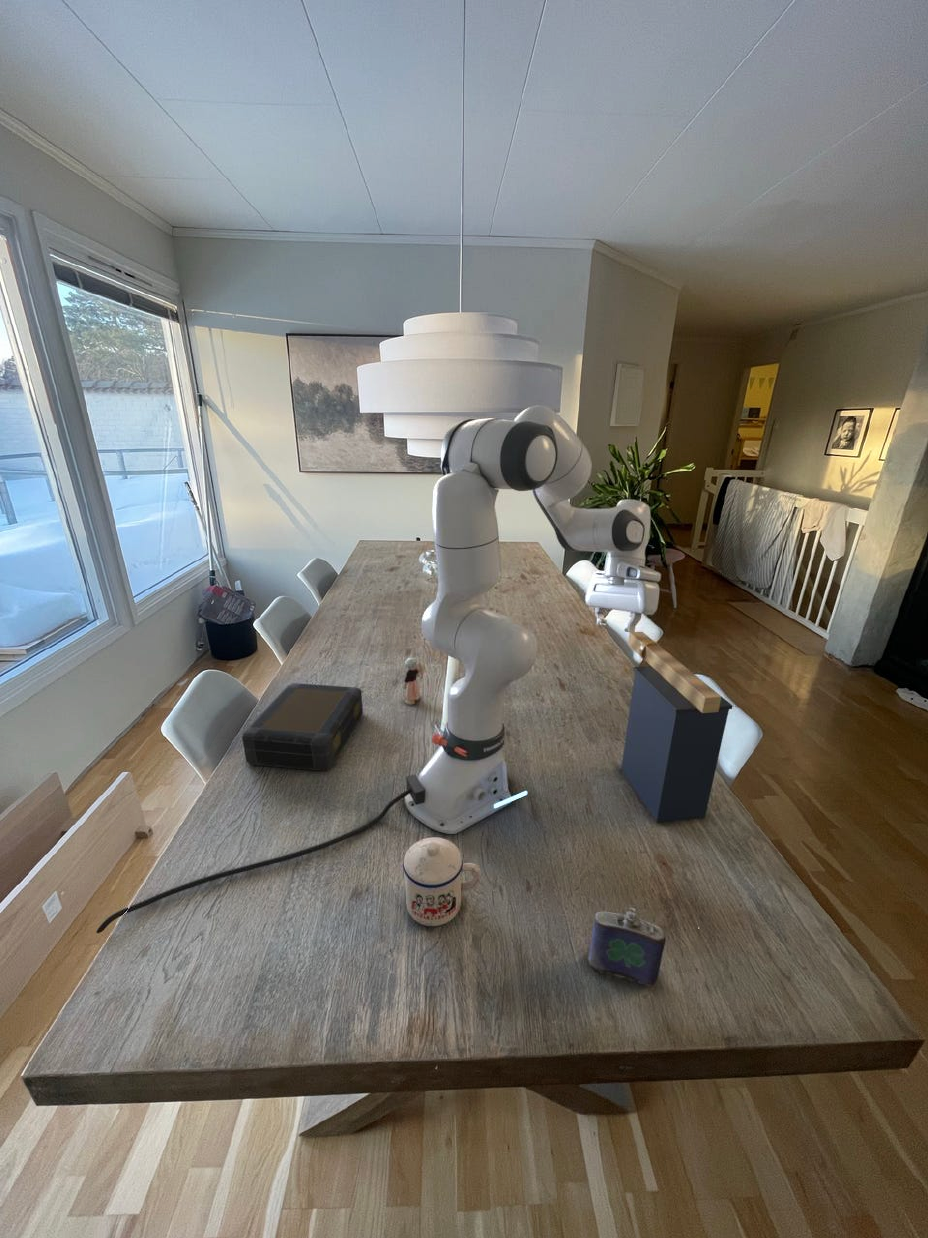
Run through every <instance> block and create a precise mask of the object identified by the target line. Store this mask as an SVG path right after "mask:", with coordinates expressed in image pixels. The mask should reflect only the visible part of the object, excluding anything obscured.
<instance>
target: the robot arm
mask: <svg viewBox="0 0 928 1238" xmlns="http://www.w3.org/2000/svg"><path fill="white" fill-rule="evenodd" d="M579 437H580V436H578V434H577V433H576V432H575V431H574V429H573V428H572V427H571V426H570V425H569V424H568V423H567V421H566V420H565V419H563V418H562V417H561V416H560V415H559V414H558V413H557V412H556V411H554V410H553V409H552V408H550V407H549V406H546V405H541V404H537V405H532V406H530V407H527V408H526V409H524V410H522V411H521V412H520V413H519V414H518V415H517V416H516V417H515V418H514V419H513V420H511V419H504V418H499V417H497V418H496V417H492V418H490V417H489V418H481V419H480V418H479V419H475V418H469V419H465V420H461V421H458V422H456V423H454V424H452V425H451V426H450V427H449V428H448V429H447V431H446V432H445V434H444V436H443V439H442V443H441V449H440V461H441V463H440V469H441V470H440V471H441V473H442V476H441V477H440V478H439V479H438V480H437V482H436V483H435V485H434V488H433V491H432V504H431V505H432V506H431V507H432V508H431V509H432V510H431V511H432V513H431V514H432V515H431V517H432V518H431V519H432V522H431V523H432V534H433V542H434V551H435V560H436V565H437V566H436V568H437V578H438V579H437V580H438V582H437V583H438V584H437V591H436V597H435V600H434V601H433V602H431V603H430V605H428V607H427V608H426V610H425V611H424V613H423V615H422V619H421V632H422V635H423V637H424V638H425V640H427V642H428V643H430V644H431V646H433V647H434V648H435V649H436V650H437V651H439V652H440V653H442V654H444V655H446V656H448V657H451V658H453V660H456V661H458V662H461V663H462V664H463V666H464V669H465V674H464V675H465V676H464V677H461V678H459V679H458V680H456V681H455V682H454V683H453V684H452V685H451V686H450V688H449V689H448V692H447V721H446V723H445V727H444V730H443V733H442V735H441V734H440V733H438V732H436V733H434V734H433V736H432V738H431V742H432V743H433V744H435V745H437V746H439V747H438V748H437V749H436V750H435V752H434V753H433V755H432V756H431V757H430V759H428V761H427V763H426V764H425V765H424V767H423V768H422V770H421V771H420V773H419V774H418V777H417V775H416V774H415V773H414V774H410V775H406V777H405V780H406V781H405V783H406V790H405V791H403V792H401V793H400V794H398V795H397V796H395V797H394V798H393V799H392V800H390V801H389V802H388V803H387V804H386V806H385V807H384V809H383V810H382V811H381V813H380V814H378V815H377V816H376V817H375V818H373V819H372V820H371V821H368V822H367V823H366V824H364V825H362V826H360V827H358V828H355V829H353V830H351V831H348V832H347V833H344V834H342V835H340V836H338V837H335V838H333V839H329V840H328V841H326V842H322V843H319V844H317V845H314V846H311V847H308V848H304V849H302V850H299V851H296V852H292V853H288V854H285V855H280V856H277V857H274V858H270V859H265V860H261V861H258V862H254V863H251V864H247V865H244V866H239V867H236V868H232V869H228V870H224V871H222V872H218V873H215V874H214V873H213V874H211V875H207V876H205V877H201V878H199V879H196V880H192V881H189V882H187V883H183V884H181V885H179V886H176V887H173V888H170V889H168V890H165V891H163V892H160V893H158V894H156V895H153V896H151V897H149V898H147V899H143V900H142V901H140V902H137V903H135V904H132V905H130V908H129V909H128V907H129V906H127V907H124V908H122V909H119V910H118V911H116V912H115V913H113V914H111V915H110V916H108V917H107V918H106V919H105V920H104V921H102V923H101V924H100V925H99V927H98V928H97V930H96V931H95V933H96V934H100V933H102V932H104V931H105V930H106V929H107V927H108V926H109V925H111V923H112V922H114V921H115V920H117V919H118V918H120V917H123V916H124V915H126V914H129V913H131V912H134V911H137V910H139V909H141V908H144V907H147V906H148V905H151V904H153V903H155V902H157V901H159V900H162V899H165V898H167V897H169V896H172V895H174V894H178V893H179V892H180V893H181V892H182V891H186V890H188V889H191V888H193V887H197V886H200V885H203V884H206V883H208V882H212V881H216V880H219V879H223V878H226V877H229V876H233V875H236V874H240V873H245V872H247V871H251V870H255V869H258V868H262V867H266V866H271V865H274V864H278V863H281V862H285V861H288V860H289V861H290V860H293V859H295V858H299V857H302V856H304V855H308V854H310V853H314V852H317V851H319V850H322V849H325V848H328V847H330V846H332V845H335V844H337V843H340V842H342V841H344V840H346V839H348V838H351V837H354V836H356V835H358V834H361V833H362V832H364V831H366V830H367V829H369V828H371V827H373V826H374V825H376V824H377V823H378V822H380V821H381V820H382V819H383V818H384V817H385V816H386V815H387V813H388V812H389V810H390V809H391V808H392V807H393V806H394V805H395V804H396V803H397V802H399V801H400V800H402V799H403V798H404V805H405V807H406V809H407V810H408V812H409V813H410V815H412V816H413V817H414V818H415V819H417V820H418V821H419V822H420V823H422V824H424V825H425V826H427V827H428V828H429V829H432V830H434V831H437V832H439V833H443V834H446V835H447V834H448V835H456V834H458V833H461V832H462V831H464V830H465V829H467V828H469V827H471V826H472V825H474V824H476V823H479V822H480V821H482V820H483V819H485V818H487V817H489V816H490V815H493V814H494V813H496V812H498V811H500V810H501V809H504V808H505V807H507V806H509V805H510V804H511V803H512V802H513V801H515V800H517V799H520V798H523V797H524V796H527V795H528V791H527V790H525V791H522V792H520V793H518V794H516V795H511V791H510V790H509V780H508V769H507V768H508V767H507V762H506V758H505V752H504V745H505V739H506V732H505V731H506V730H505V729H506V728H505V724H504V709H505V708H504V707H505V698H506V694H507V691H508V690H509V687H510V685H511V684H512V683H514V681H517V680H518V681H519V680H520V679H521V678H523V677H525V676H526V675H527V674H528V673H529V672H530V671H531V669H532V668H533V667H534V665H535V663H536V660H537V658H538V653H539V652H538V648H539V645H538V640H537V637H536V635H535V633H534V632H533V631H531V629H529V628H527V627H526V626H524V625H523V624H522V623H520V622H519V621H517V620H516V619H514V618H512V617H510V616H506V615H503V614H501V613H498V612H495V611H492V610H490V609H488V607H487V606H486V604H485V595H486V593H489V592H490V591H491V590H492V589H493V588H494V587H496V586H497V584H498V583H499V581H500V579H501V576H502V563H501V550H500V535H499V526H498V518H497V512H496V501H497V497H498V494H499V491H500V490H513V491H517V492H527V491H532V494H533V497H534V499H535V501H536V503H537V504H538V506H539V508H540V510H541V511H542V513H543V514H544V516H545V517H546V519H547V520H548V522H549V523H550V525H551V527H552V528H553V530H554V533H555V537H556V540H557V542H558V543H559V545H560V546H561V548H562V549H563V550H565V551H567V552H569V553H573V552H590V553H591V552H594V553H606V556H605V563H604V569H603V570H601V569H598V570H596V571H595V572H593V574H592V575H591V579H590V581H589V583H588V586H587V590H586V593H585V594H586V595H585V599H584V602H585V605H586V606H587V607H592V608H594V614H595V617H596V624H595V625H596V627H599V628H606V626H607V619H605V614H604V613H606V610H614V611H621V612H626V613H627V612H628V613H629V617H630V619H629V622H628V623H625V625H624V633H625V632H626V633H630V632H636V626H637V625H638V624H639V622H640V621H641V619H642V616H643V615H649V616H653V615H654V614H655V613H656V612H657V610H658V606H659V599H660V585H659V584H658V583H660V582H661V578H662V574H661V573H660V572H659V571H657V570H655V569H652V568H650V567H648V566H647V565H646V549H647V546H648V543H649V541H650V531H651V508H650V507H651V506H649V504H647V503H645V502H644V501H642V500H638V499H632V498H625V499H621V500H619V501H618V502H617V504H616V506H613V507H610V508H581V507H575V506H572V505H571V503H570V501H569V500H571V499H573V498H574V497H576V496H577V495H578V494H579V493H580V492H581V491H582V490H583V489H584V488H585V487H586V485H587V483H589V480H590V477H591V475H592V470H593V469H592V467H593V462H592V458H591V455H590V452H589V451H588V449H587V447H586V446H585V444H584V443H583V442H582V440H581V439H580V438H579ZM127 910H128V911H127ZM126 911H127V913H126V914H124V913H125V912H126ZM123 914H124V915H123Z"/></svg>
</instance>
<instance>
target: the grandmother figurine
mask: <svg viewBox="0 0 928 1238" xmlns="http://www.w3.org/2000/svg"><path fill="white" fill-rule="evenodd" d="M417 663H418V659H417V658H415V657H408V658H407V659H406V660H405V661H404V665H405V667H406V668H407V671H406V673H405V678H404V680H403V685H402V688H403V689H404V690H406V691H405V695H406V696H405V704H407V705H409V706H413V705H414V704H415V703H416V701H419V699H420V698H421V696H420V689H419V684H418V679H417V678H419V676H420V674H419V670H418V669H417Z"/></svg>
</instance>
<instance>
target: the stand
mask: <svg viewBox="0 0 928 1238" xmlns="http://www.w3.org/2000/svg"><path fill="white" fill-rule="evenodd" d="M681 664H682V665H683V666H685V665H684V664H683V663H681ZM687 669H688V670H690V669H689V668H687ZM632 671H633V672H634V675H633V684H632V690H631V697H630V704H629V712H628V718H627V726H626V733H625V740H624V747H623V754H622V761H621V767H620V770H621V772H622V774H623V775H624V777H625V778H626V779H627V781H628V783H629V784H630V786H631V787H632V788H633V790H634V791H635V793H636V795H637V796H638V797H639V799H640V801H641V802H642V803H643V805H644V806H645V807H646V809H647V811H648V812H649V814H650V815H651V817H652V818H653V820H654V821H655V822H656V823H665V822H666V823H667V822H675V821H676V822H677V821H686V820H695V819H704V818H706V815H707V809H708V806H709V801H710V797H711V792H712V788H713V783H714V778H715V775H716V771H717V765H718V761H719V757H720V752H721V748H722V743H723V738H724V733H725V729H726V725H727V720H728V716H729V711H730V710H732V709H733V704H731V703H730V701H728V700H727V699H726V698H724V697H723V696H722V695H720V696H721V702H720V707H719V711H718V712H711V713H702V712H701V711H699V710H698V709H697V708H696V707H695V706H694V705H693V704H692V703H691V702H690V701H689V700H688V699H686V698H685V697H684V696H683V695H682V694H681V693H680V692H679V691H678V690H677V689H676V688H675V687H673V686H672V685H671V684H670V683H669V682H668V681H667V680H666V679H665V678H664V677H663V676H662V675H660V674H659V673H658V672H657V671H656V670H655V669H654V668H653V667H652V666H651V665H647V666H633V668H632ZM692 673H693V674H694V675H696V674H695V673H694V672H692ZM698 678H699V677H698ZM699 679H701V678H699ZM704 683H705V684H707V683H706V682H704ZM709 687H710V688H711V689H713V688H712V687H711V686H709ZM715 692H716V693H718V692H717V691H715Z"/></svg>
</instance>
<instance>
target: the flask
mask: <svg viewBox="0 0 928 1238" xmlns="http://www.w3.org/2000/svg"><path fill="white" fill-rule="evenodd" d="M625 910H627V911H626V914H624V913H619V912H612V911H597V912H596V913H595V914H594V917H593V924H592V934H591V940H590V946H589V952H588V958H587V959H588V964H589V967H591V968H593V970H596V971H597V972H599V973H602V974H604V973H607V974H610V975H612V976H613V977H616V978H619V979H624V978H627V979H628V980H629V981H631V982H632V981H636V982H637V983H638V984H642V985H644V986H647V987H652V986H654V985H657V980H658V977H659V973H660V967H661V964H662V959H663V953H664V950H665V944H666V941H667V938H666V934H665V932H664V930H663V928H661V927H660V926H659V925H657V924H654V923H651V922H649V921H647V920H645V919H642V918H640V917H639V916H637V914H636V912H637V910H636V909H635V908H634V907H632V906H631V907H625Z"/></svg>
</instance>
